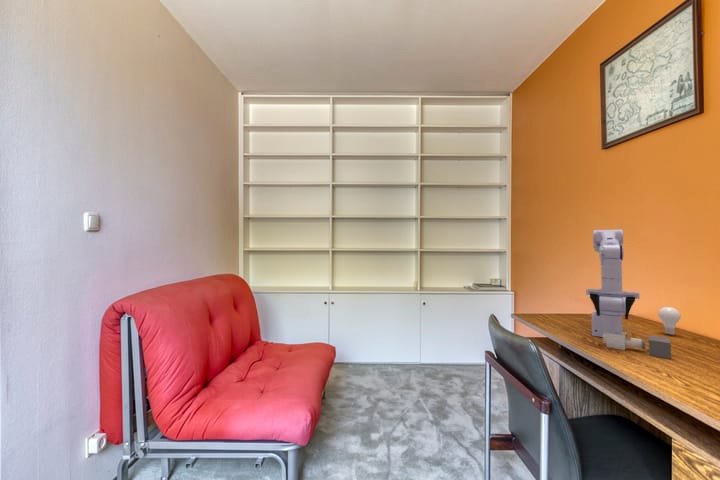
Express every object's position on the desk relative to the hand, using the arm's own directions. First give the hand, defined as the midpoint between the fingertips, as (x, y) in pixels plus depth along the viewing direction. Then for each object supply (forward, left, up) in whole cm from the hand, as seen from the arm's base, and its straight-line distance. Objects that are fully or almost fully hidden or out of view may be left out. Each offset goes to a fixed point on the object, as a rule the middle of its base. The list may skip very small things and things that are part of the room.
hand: (612, 317), depth 109 cm
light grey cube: (+1, +1, -10) cm, 10 cm away
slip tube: (+3, +1, -9) cm, 10 cm away
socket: (+12, +1, -10) cm, 16 cm away
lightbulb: (+15, +33, -11) cm, 38 cm away
